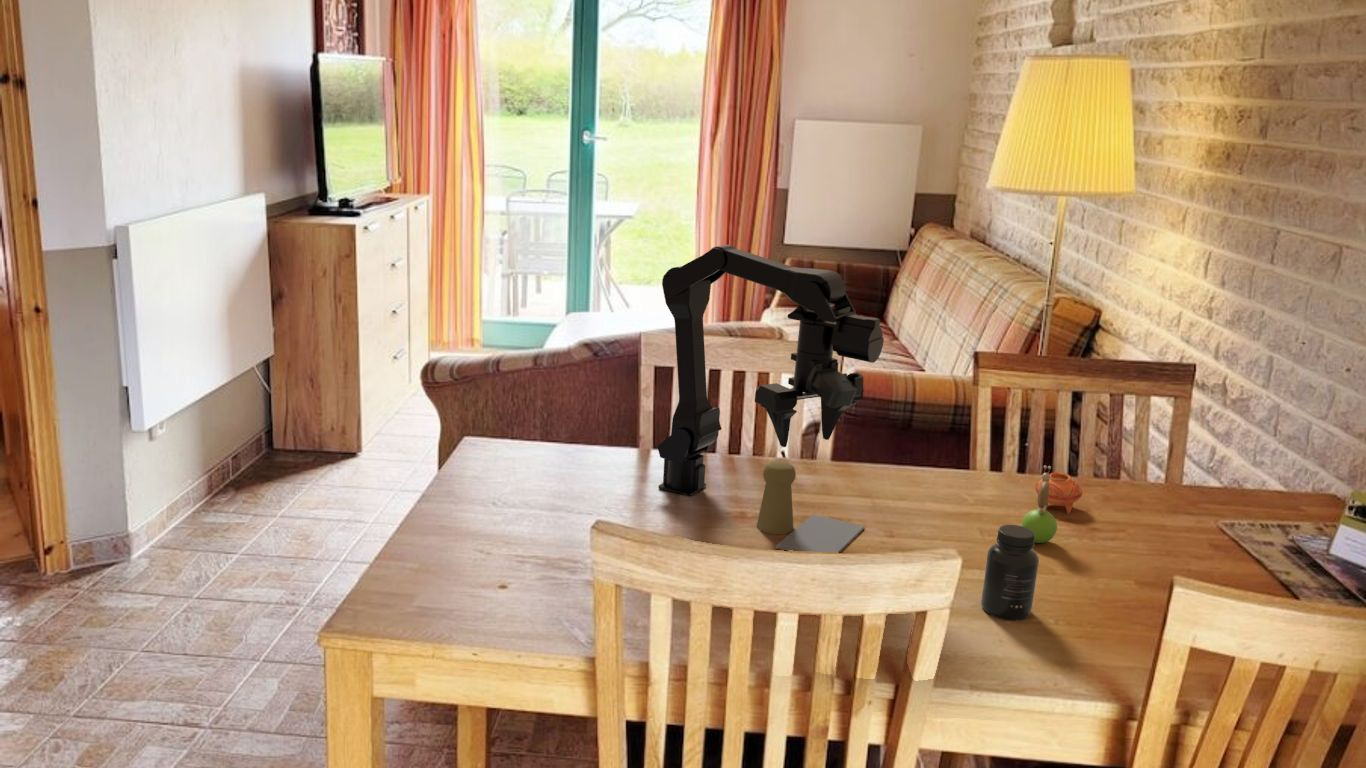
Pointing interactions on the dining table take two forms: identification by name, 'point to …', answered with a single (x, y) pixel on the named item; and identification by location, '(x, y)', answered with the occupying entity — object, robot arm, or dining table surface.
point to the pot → (1062, 490)
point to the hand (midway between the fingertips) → (804, 442)
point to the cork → (777, 499)
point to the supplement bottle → (1010, 574)
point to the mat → (820, 535)
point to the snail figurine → (1041, 514)
